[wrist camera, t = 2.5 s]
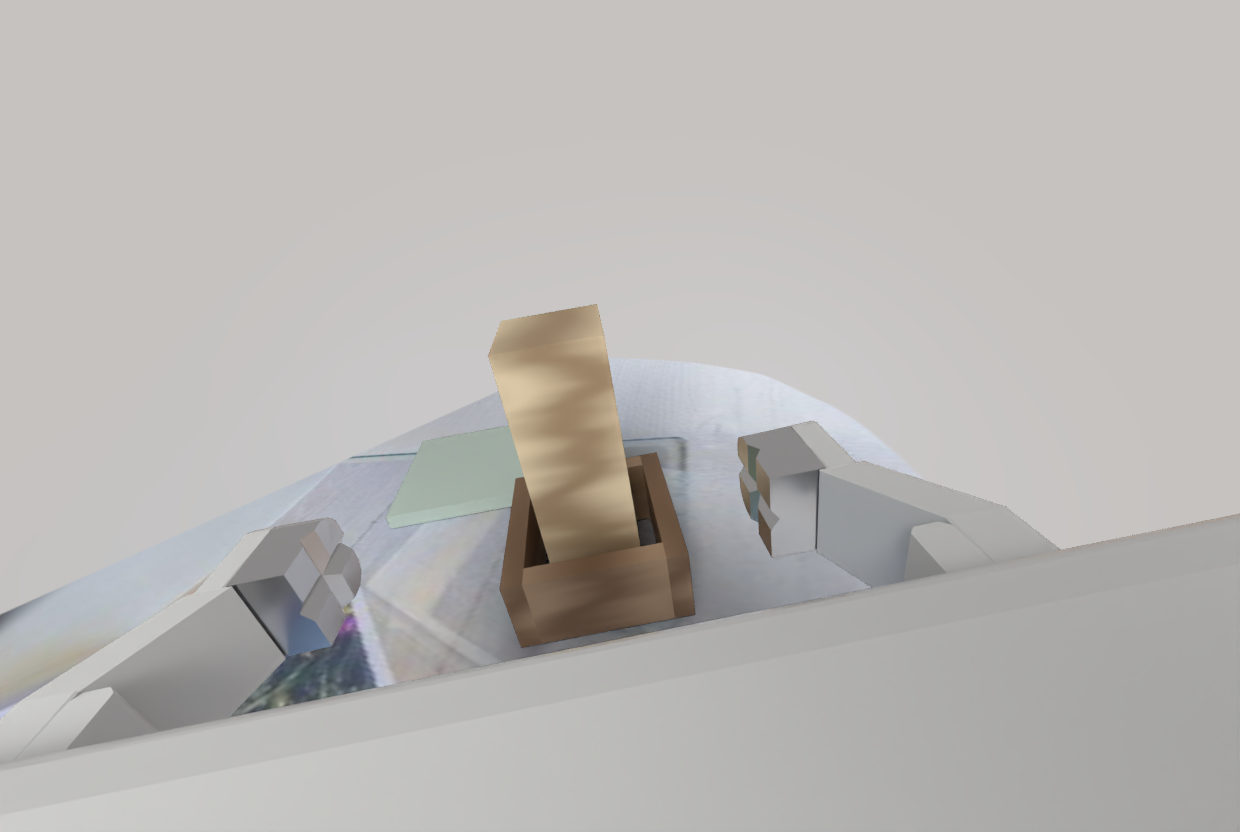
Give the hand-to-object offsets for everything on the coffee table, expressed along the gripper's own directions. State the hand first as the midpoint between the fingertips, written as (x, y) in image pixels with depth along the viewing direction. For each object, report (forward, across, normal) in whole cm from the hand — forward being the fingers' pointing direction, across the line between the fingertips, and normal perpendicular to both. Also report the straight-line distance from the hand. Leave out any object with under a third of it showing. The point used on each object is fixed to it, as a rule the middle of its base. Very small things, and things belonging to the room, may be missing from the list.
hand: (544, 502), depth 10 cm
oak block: (+12, 0, +14) cm, 19 cm away
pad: (+24, +10, +14) cm, 30 cm away
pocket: (+12, 0, +14) cm, 19 cm away
